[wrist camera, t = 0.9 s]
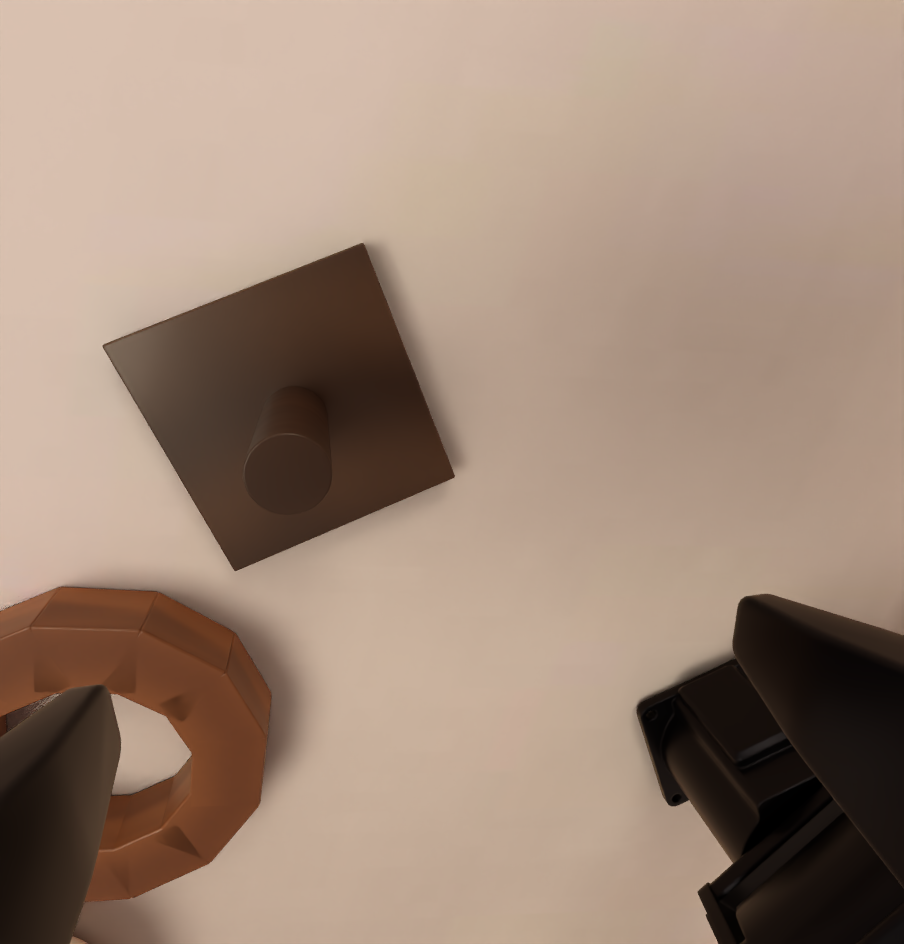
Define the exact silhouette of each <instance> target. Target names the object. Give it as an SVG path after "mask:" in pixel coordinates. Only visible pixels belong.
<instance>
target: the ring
mask: <svg viewBox="0 0 904 944" xmlns="http://www.w3.org/2000/svg"><path fill="white" fill-rule="evenodd" d="M97 684H102V685H104V686H106V687H107V689H108V690H109V692H110V694H118V695H120V696H123V697H125V698H127V699H129V700H131V701H134V702H136V703H138V704H140V705H142V706H145V707H147V708H149V709H151V710H153V711H156V712H158V713H160V714H162V715H164V716H166V717H167V718H168V720H169V721H170V723H171V724H172V725H173V727H174V728H175V730H176V731H177V733H178V734H179V735H180V737H181V738H182V740H183V741H184V743H185V744H186V745H187V747H188V748H189V750H190V751H191V752H192V756H191V757H190V759H189V760H188V761H187V762H186V763H185V765H184V766H183V767H182V768H181V770H180V771H179V772H178V773H177V774H176V776H174V777H172V778H170V779H167V780H165V781H163V782H161V783H158V784H156V785H154V786H152V787H149V788H147V789H145V790H142V791H140V792H138V793H136V794H133V795H118V796H111V798H110V802H109V807H108V811H107V815H106V820H105V824H104V829H103V833H102V838H101V842H100V846H99V851H98V855H97V859H96V863H95V867H94V871H93V875H92V879H91V882H90V885H89V888H88V892H87V895H86V898H85V901H84V902H92V901H107V900H122V899H130V898H134V897H137V896H139V895H141V894H143V893H145V892H148V891H150V890H152V889H154V888H156V887H159V886H161V885H163V884H165V883H167V882H170V881H172V880H174V879H176V878H179V877H181V876H183V875H185V874H187V873H190V872H192V871H194V870H196V869H198V868H201V867H203V866H205V865H207V864H209V863H210V862H211V861H212V860H213V859H214V858H215V857H216V856H217V855H218V853H219V852H220V851H221V850H222V849H223V848H224V846H225V845H226V844H227V843H228V842H229V841H230V839H231V838H232V837H233V836H234V835H235V833H236V832H237V831H238V830H239V829H240V828H241V826H242V825H243V824H244V823H245V822H246V821H247V819H248V818H249V817H250V816H251V815H252V814H253V812H254V811H255V810H256V809H257V808H258V806H259V804H260V801H261V792H262V783H263V773H264V764H265V755H266V746H267V736H268V726H269V716H270V706H271V691H270V690H269V688H268V686H267V685H266V683H265V681H264V680H263V678H262V676H261V675H260V673H259V671H258V670H257V668H256V666H255V665H254V663H253V661H252V660H251V658H250V656H249V655H248V653H247V651H246V650H245V648H244V646H243V645H242V643H241V641H240V640H239V638H238V636H237V635H236V633H234V632H233V631H231V630H229V629H228V628H226V627H224V626H222V625H220V624H218V623H216V622H214V621H212V620H211V619H209V618H207V617H205V616H203V615H201V614H199V613H197V612H196V611H194V610H192V609H190V608H188V607H186V606H184V605H182V604H180V603H179V602H177V601H175V600H173V599H171V598H169V597H167V596H165V595H164V594H162V593H158V592H154V591H133V590H113V589H92V588H72V587H61V588H60V587H59V588H56V589H54V590H51V591H49V592H46V593H44V594H41V595H39V596H36V597H34V598H31V599H29V600H27V601H24V602H22V603H19V604H17V605H14V606H12V607H9V608H7V609H5V610H2V611H0V737H1V736H3V735H4V734H6V733H7V729H6V714H8V713H10V712H13V711H15V710H17V709H20V708H22V707H24V706H27V705H29V704H31V703H34V702H36V701H39V700H41V699H43V698H46V697H48V696H50V695H53V694H55V693H63V692H65V691H66V690H68V689H70V688H75V687H82V686H90V685H97Z"/></svg>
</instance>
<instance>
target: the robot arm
mask: <svg viewBox="0 0 904 944" xmlns="http://www.w3.org/2000/svg"><path fill="white" fill-rule="evenodd" d="M733 651H734V654H735V657H736V658H735V659H733V660H731V661H729V662H727V663H725V664H723V665H720V666H718V667H716V668H714V669H712V670H710V671H708V672H706V673H703V674H701V675H699V676H697V677H695V678H693V679H691V680H688V681H686V682H684V683H682V684H680V685H678V686H676V687H673V688H671V689H669V690H667V691H665V692H663V693H661V694H658V695H656V696H654V697H652V698H650V699H648V700H646V701H644V702H642V703H641V704H640V705H639V706H638V708H637V716H638V719H639V722H640V725H641V729H642V732H643V735H644V738H645V741H646V744H647V748H648V751H649V754H650V757H651V760H652V764H653V767H654V770H655V773H656V776H657V779H658V783H659V786H660V789H661V792H662V795H663V797H664V799H665V800H666V802H667V803H668V805H670V806H677V805H680V804H682V803H684V802H686V801H688V800H689V801H690V802H691V803H692V805H693V806H694V808H695V809H696V811H697V812H698V814H699V815H700V816H701V818H702V819H703V821H704V822H705V824H706V825H707V826H708V828H709V829H710V831H711V832H712V834H713V835H714V837H715V838H716V839H717V841H718V842H719V844H720V845H721V847H722V848H723V850H724V851H725V852H726V854H727V855H728V857H729V858H730V860H731V861H732V862H733V864H732V865H731V866H730V867H729V868H728V869H727V870H725V871H724V872H723V873H722V874H721V875H720V876H719V877H718V878H717V879H715V880H714V881H713V882H712V883H711V884H710V883H707V884H705V885H704V886H703V887H702V888H701V889H700V890H699V891H698V895H699V897H700V899H701V901H702V903H703V906H704V908H705V910H706V912H707V914H706V917H707V920H708V922H709V924H710V926H711V928H712V930H713V933H714V935H715V937H716V939H717V941H718V944H904V635H901V634H898V633H895V632H891V631H888V630H885V629H882V628H878V627H875V626H872V625H869V624H866V623H862V622H859V621H856V620H853V619H849V618H846V617H843V616H840V615H836V614H833V613H830V612H827V611H823V610H820V609H817V608H814V607H810V606H807V605H804V604H801V603H797V602H794V601H791V600H788V599H784V598H781V597H778V596H775V595H771V594H760V595H753V596H746V597H744V598H743V599H741V601H740V602H739V604H738V609H737V615H736V622H735V629H734V635H733ZM650 711H651V712H650ZM648 712H649V713H648ZM120 751H121V737H120V732H119V728H118V724H117V720H116V716H115V712H114V708H113V703H112V699H111V695H110V692H109V690H108V689H107V687H106V686H104V685H102V684H97V685H90V686H82V687H75V688H70V689H68V690H66V691H65V692H63V693H62V694H60V695H59V696H58V697H56V698H55V699H53V700H52V701H51V702H49V703H48V704H46V705H45V706H44V707H42V708H41V709H39V710H38V711H37V712H35V713H34V714H32V715H31V716H30V717H28V718H27V719H25V720H24V721H23V722H21V723H20V724H18V725H17V726H16V727H14V728H13V729H11V730H10V731H8V732H7V733H6V734H4V735H3V736H1V737H0V944H70V942H71V939H72V936H73V933H74V930H75V927H76V924H77V922H78V919H79V916H80V913H81V910H82V907H83V904H84V901H85V898H86V895H87V892H88V888H89V885H90V882H91V879H92V875H93V871H94V867H95V863H96V859H97V855H98V851H99V846H100V842H101V838H102V833H103V829H104V824H105V820H106V815H107V811H108V807H109V802H110V798H111V793H112V789H113V784H114V780H115V776H116V771H117V767H118V762H119V758H120Z"/></svg>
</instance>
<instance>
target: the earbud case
mask: <svg viewBox="0 0 904 944" xmlns="http://www.w3.org/2000/svg"><path fill="white" fill-rule="evenodd" d="M70 944H87V943H86V942H84V941H82V940H81V939H78V938H76V937H73V936H72V939H71V942H70Z"/></svg>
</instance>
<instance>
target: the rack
mask: <svg viewBox="0 0 904 944" xmlns="http://www.w3.org/2000/svg"><path fill="white" fill-rule="evenodd" d="M103 348H104V350H105V352H106V353H107V355H108V357H109V358H110V360H111V362H112V364H113V365H114V367H115V369H116V370H117V372H118V374H119V375H120V377H121V379H122V381H123V382H124V384H125V386H126V387H127V389H128V391H129V392H130V394H131V396H132V398H133V399H134V401H135V403H136V404H137V406H138V408H139V409H140V411H141V413H142V415H143V416H144V418H145V420H146V421H147V423H148V425H149V426H150V428H151V430H152V431H153V433H154V435H155V437H156V438H157V440H158V442H159V443H160V445H161V447H162V448H163V450H164V452H165V454H166V455H167V457H168V459H169V460H170V462H171V464H172V465H173V467H174V469H175V471H176V472H177V474H178V476H179V477H180V479H181V481H182V482H183V484H184V486H185V488H186V489H187V491H188V493H189V494H190V496H191V498H192V499H193V501H194V503H195V505H196V506H197V508H198V510H199V511H200V513H201V515H202V516H203V518H204V520H205V521H206V523H207V525H208V527H209V528H210V530H211V532H212V533H213V535H214V537H215V538H216V540H217V542H218V544H219V545H220V547H221V549H222V550H223V552H224V554H225V555H226V557H227V559H228V561H229V562H230V564H231V566H232V567H233V569H234V570H235V571H237V570H239V569H242V568H244V567H246V566H249V565H251V564H253V563H256V562H258V561H260V560H263V559H265V558H267V557H270V556H272V555H274V554H277V553H279V552H282V551H284V550H286V549H289V548H291V547H293V546H296V545H298V544H300V543H303V542H305V541H307V540H310V539H312V538H314V537H317V536H319V535H321V534H324V533H326V532H328V531H331V530H333V529H335V528H338V527H340V526H342V525H345V524H347V523H349V522H352V521H354V520H356V519H359V518H361V517H363V516H366V515H368V514H370V513H373V512H375V511H377V510H380V509H382V508H384V507H387V506H389V505H391V504H394V503H396V502H399V501H401V500H403V499H406V498H408V497H410V496H413V495H415V494H417V493H420V492H422V491H424V490H427V489H429V488H431V487H434V486H436V485H438V484H441V483H443V482H445V481H448V480H450V479H452V478H454V477H455V475H454V472H453V470H452V467H451V465H450V462H449V460H448V457H447V454H446V452H445V449H444V447H443V444H442V442H441V439H440V437H439V434H438V431H437V429H436V426H435V424H434V421H433V419H432V416H431V414H430V411H429V408H428V406H427V403H426V401H425V398H424V396H423V393H422V391H421V388H420V385H419V383H418V380H417V378H416V375H415V373H414V370H413V368H412V365H411V363H410V360H409V357H408V355H407V352H406V350H405V347H404V345H403V342H402V340H401V337H400V334H399V332H398V329H397V327H396V324H395V322H394V319H393V317H392V314H391V311H390V309H389V306H388V304H387V301H386V299H385V296H384V294H383V291H382V288H381V286H380V283H379V281H378V278H377V276H376V273H375V271H374V268H373V265H372V263H371V260H370V258H369V255H368V253H367V250H366V248H365V245H364V244H363V243H361V244H358V245H356V246H353V247H350V248H348V249H345V250H343V251H340V252H338V253H335V254H333V255H330V256H328V257H325V258H322V259H320V260H317V261H315V262H312V263H310V264H307V265H305V266H302V267H299V268H297V269H294V270H292V271H289V272H287V273H284V274H282V275H279V276H277V277H274V278H271V279H269V280H266V281H264V282H261V283H259V284H256V285H254V286H251V287H249V288H246V289H243V290H241V291H238V292H236V293H233V294H231V295H228V296H226V297H223V298H221V299H218V300H215V301H213V302H210V303H208V304H205V305H203V306H200V307H198V308H195V309H193V310H190V311H187V312H185V313H182V314H180V315H177V316H175V317H172V318H170V319H167V320H165V321H162V322H159V323H157V324H154V325H152V326H149V327H147V328H144V329H142V330H139V331H137V332H134V333H131V334H129V335H126V336H124V337H121V338H119V339H116V340H114V341H111V342H109V343H106V344H104V345H103Z"/></svg>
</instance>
